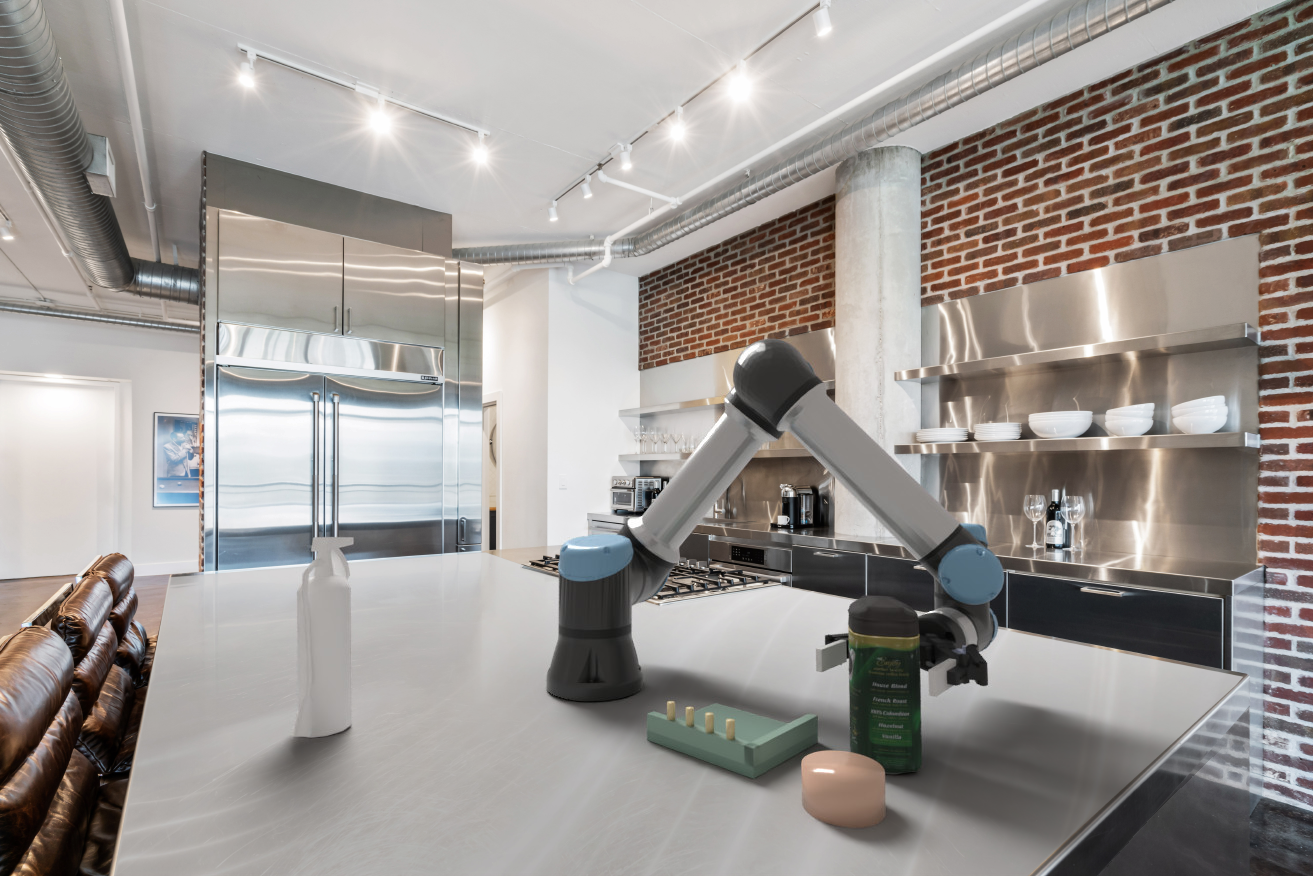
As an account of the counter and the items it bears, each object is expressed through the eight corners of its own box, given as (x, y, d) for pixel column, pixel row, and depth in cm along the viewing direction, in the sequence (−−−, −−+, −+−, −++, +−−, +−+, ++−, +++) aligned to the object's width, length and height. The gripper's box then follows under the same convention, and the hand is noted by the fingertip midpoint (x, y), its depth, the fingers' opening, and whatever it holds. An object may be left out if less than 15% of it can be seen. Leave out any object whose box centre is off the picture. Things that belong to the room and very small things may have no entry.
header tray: (647, 739, 82) (647, 697, 82) (715, 711, 92) (715, 673, 92) (753, 778, 71) (753, 729, 71) (817, 742, 81) (817, 699, 82)
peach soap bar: (786, 809, 65) (786, 767, 65) (826, 782, 71) (825, 744, 71) (863, 838, 59) (862, 793, 60) (899, 807, 65) (898, 765, 65)
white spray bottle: (262, 749, 79) (271, 540, 80) (320, 714, 91) (326, 533, 93) (316, 751, 78) (324, 540, 80) (367, 715, 90) (373, 533, 92)
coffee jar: (929, 781, 70) (924, 606, 72) (853, 773, 72) (849, 603, 74) (915, 746, 80) (910, 592, 81) (847, 740, 82) (844, 590, 83)
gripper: (1041, 686, 82) (990, 732, 67) (855, 651, 99) (779, 682, 83) (1039, 625, 83) (987, 657, 67) (854, 601, 100) (778, 622, 84)
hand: (871, 671), depth 75 cm, fingers open, 13 cm apart
